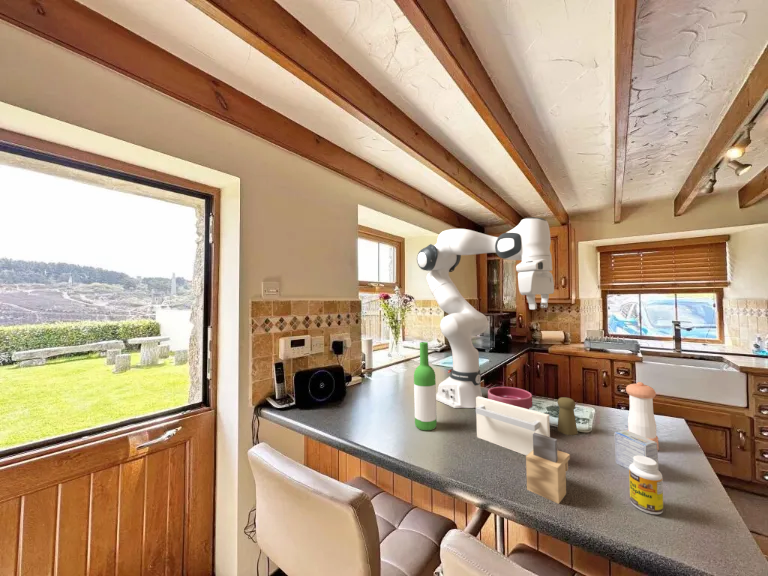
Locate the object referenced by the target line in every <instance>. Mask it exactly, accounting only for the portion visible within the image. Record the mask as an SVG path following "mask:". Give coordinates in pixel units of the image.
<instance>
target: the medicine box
mask: <svg viewBox="0 0 768 576" xmlns="http://www.w3.org/2000/svg"><path fill="white" fill-rule="evenodd" d="M627 430H628V429H626V430H625V429H623V430H619V431H616V432H614V449H615V451H614V452H615V464H617V465H619V466H621V467H623V468H625V469H626V470H628V471H629V466H630V464H632V463H633V457H634V456H645V457H648V458H651V459H653V460H654V461H656V463H657V470H658V471H659V469H660V468H659V458H658V457H659V455H658V451H659V450H657V443H656V442H655V441H652V440H650V439H647V438H645V437H642V436H640V435H637V434H635V433H632V432H630V431H627Z"/></svg>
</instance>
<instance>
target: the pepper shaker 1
mask: <svg viewBox="0 0 768 576" xmlns="http://www.w3.org/2000/svg"><path fill="white" fill-rule="evenodd" d="M557 405H558V407H559V410H558V416H557V417H558V418H557V426H556V427H557V428H556V429H557V432H559V433H561V434H564V435H567V436H577V435H578V433H579V432H578V428H577V420H576V415H575V408H576V401H575V400H574V399H572V398H570V397H565V396H564V397H562V396H561V397H559V398H558V399H557Z"/></svg>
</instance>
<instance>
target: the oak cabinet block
mask: <svg viewBox="0 0 768 576" xmlns="http://www.w3.org/2000/svg"><path fill="white" fill-rule="evenodd" d="M570 459H571V454H569V453H567V452H565V451H561V450H558V439H557V438H553V437H551V436H550V437H548V436H544V435H541V434H538V433H534V434H533V450H532V451H531V452H530V453H529V454H528V455H527V456H526V455H525V465H526V466H525V468H526V490H527V491H529V492H532V493H533V494H535V495H538V496H540V497H543V498H544V499H547V500H549V501H552V502H554V503H556V504H558V505H559V504H560V503H561V502H562V500H564V498H565V496H567V478H566V477H567V476H566V475H567V474H566V473H567V472H568V471H569V461H570Z"/></svg>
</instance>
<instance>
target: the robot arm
mask: <svg viewBox="0 0 768 576" xmlns="http://www.w3.org/2000/svg"><path fill="white" fill-rule="evenodd" d="M551 242H552V240H551V231H550V225H549V222H548V220H547V219H545V218H543V217H533V216H532V217H525V218H523V219H521V220H520V222H519V223H518V224H517V225H516V226H515V227H513V228H512V229H510V230H508V231H506V232H503V233H502V234H500V235H499V236H493V235H489V234H485V233H482V232H478V231H475V230H472V229H466V228H451V229H450V228H449V229H445V230H443V231H441V232H440V233H439V234H438V236H437V240H436V243H435V244H431V243H430V244H428V245H427V246H426V247H424V248H422V249H420V250H419V251H418V253H417V256H416V263H417V266H418V267H419V268H420V270H422V271H427V272H428V273H427V274H426V277H425V279H426V283H427V286H428V288H429V291H430V292H431V294H432V296H433V298H434V299H435V301H436V303H437V305H438V307H439V308H440V310H441V311H443V312H445V313H447V315H444V317H442V318H441V320H440V324H439V328H440V332H441V334H442V335H443V336H444V337H445V338H446V339H447V341H448V342H449V343H448V344H449V346H450V348H451V352H452V356H451V357H452V367H451V368H450V369H448V370H447V371H448V372H447V373H448V374H449V373H450V374H449V376H448V377H446V378H445V379H444V380H442V381H441V382H440V383H439V384H438V386H437V391H436V402H437V401H438V402H440V403H441V404H445V405H447V406H449V407H451V408H454V409H460V408H465V409H474V408H475V409H476V397H478V396H479V397H483V394H482V387H481V382H482V381H481V377H482V376H481V369H480V353H479V350H478V349H477V348H476V347H474V344H473V341H472V337H475V336H476V337H477V336H479V335H481V334H483V333H485V332H486V330H487V329H488V327H489V321H488V318H487V316H486V315H485V314H483V313H482V312H480V311H478V310H477V309H476V308H475V307H474V306H473V305H471V304H470V303H469V302H468V301H467V300H466V298H464V296H463V295H462V294H461V292H460V291H459V289H458V287H457V286H456V284H455V282H453V280H452V279H451V277H450V273H451V272H454V271H455V269H456V267H458V265H459V264H460V262H461V258H462V256H473V255H480V254H491V253H492V254H493V253H494V254H496V255H497V256H498V258H500V259H502V260H503V259H504V260H510V261H521V262H519V263H517V264H516V267H515V268H516V269H515V270H516V272H517V281H518V282H517V283H518V291H519V294H520V295H521V296H526V300H527V303H528V308H529V310H537V309H538V307H537V306H538V305H537V302H536V295H540V298H541V299H540V301H541V302H540V308H541V309H547V308H548V307H549V305H548V303H549V299H550V295H553V294H554V293H555V282H554V276H553V274H552V271H553V261H552V252H551Z"/></svg>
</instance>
